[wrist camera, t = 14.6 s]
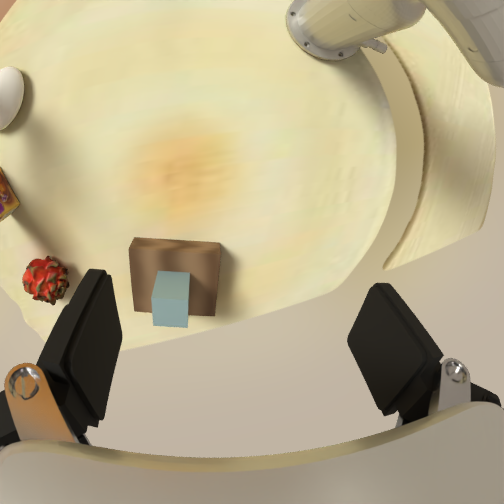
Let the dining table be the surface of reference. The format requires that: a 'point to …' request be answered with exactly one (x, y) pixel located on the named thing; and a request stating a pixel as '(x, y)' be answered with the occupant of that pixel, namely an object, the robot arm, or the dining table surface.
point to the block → (171, 299)
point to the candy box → (6, 198)
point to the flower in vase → (10, 94)
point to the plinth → (175, 260)
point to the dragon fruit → (45, 280)
